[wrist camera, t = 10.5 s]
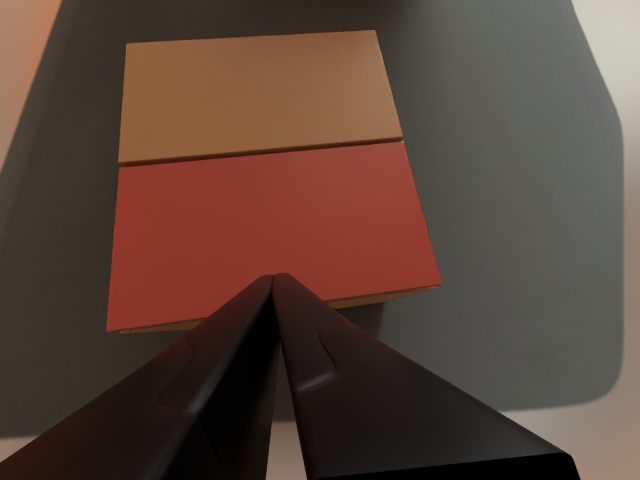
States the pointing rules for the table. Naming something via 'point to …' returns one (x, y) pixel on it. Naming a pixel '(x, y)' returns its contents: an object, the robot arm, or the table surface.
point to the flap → (265, 230)
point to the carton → (255, 105)
